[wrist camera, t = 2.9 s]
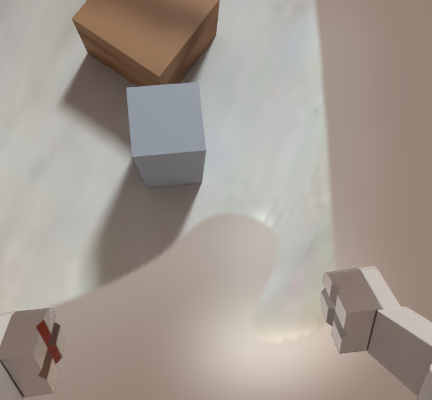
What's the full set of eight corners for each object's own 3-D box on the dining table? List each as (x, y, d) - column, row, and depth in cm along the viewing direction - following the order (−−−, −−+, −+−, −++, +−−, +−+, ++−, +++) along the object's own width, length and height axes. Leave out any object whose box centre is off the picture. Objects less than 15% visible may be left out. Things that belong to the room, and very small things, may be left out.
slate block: (202, 182, 34) (205, 150, 25) (147, 187, 33) (131, 157, 25) (196, 131, 34) (198, 82, 26) (142, 135, 34) (126, 87, 25)
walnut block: (163, 104, 35) (159, 76, 30) (88, 54, 35) (71, 18, 30) (215, 36, 36) (219, -1, 31) (142, -12, 37) (135, -56, 32)
